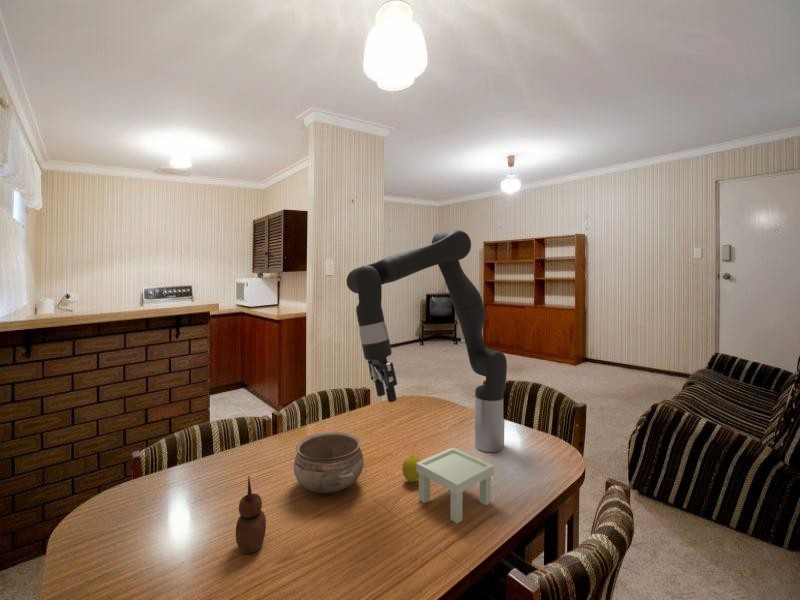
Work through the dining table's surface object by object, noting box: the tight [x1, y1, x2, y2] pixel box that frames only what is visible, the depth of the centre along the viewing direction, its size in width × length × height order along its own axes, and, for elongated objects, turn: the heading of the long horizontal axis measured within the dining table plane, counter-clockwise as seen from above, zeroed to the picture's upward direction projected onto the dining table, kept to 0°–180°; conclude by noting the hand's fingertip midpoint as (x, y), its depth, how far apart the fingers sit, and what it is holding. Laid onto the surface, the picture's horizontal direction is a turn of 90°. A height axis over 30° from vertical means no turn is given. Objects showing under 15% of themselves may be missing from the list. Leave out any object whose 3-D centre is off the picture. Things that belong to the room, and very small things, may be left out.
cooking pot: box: [293, 431, 365, 495], centre depth 108 cm, size 25×19×12 cm
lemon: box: [401, 454, 421, 483], centre depth 111 cm, size 6×6×8 cm
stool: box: [416, 447, 495, 524], centre depth 101 cm, size 14×14×10 cm
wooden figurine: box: [235, 475, 267, 554], centre depth 84 cm, size 7×6×15 cm
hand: (386, 398), depth 106 cm, fingers open, 8 cm apart
